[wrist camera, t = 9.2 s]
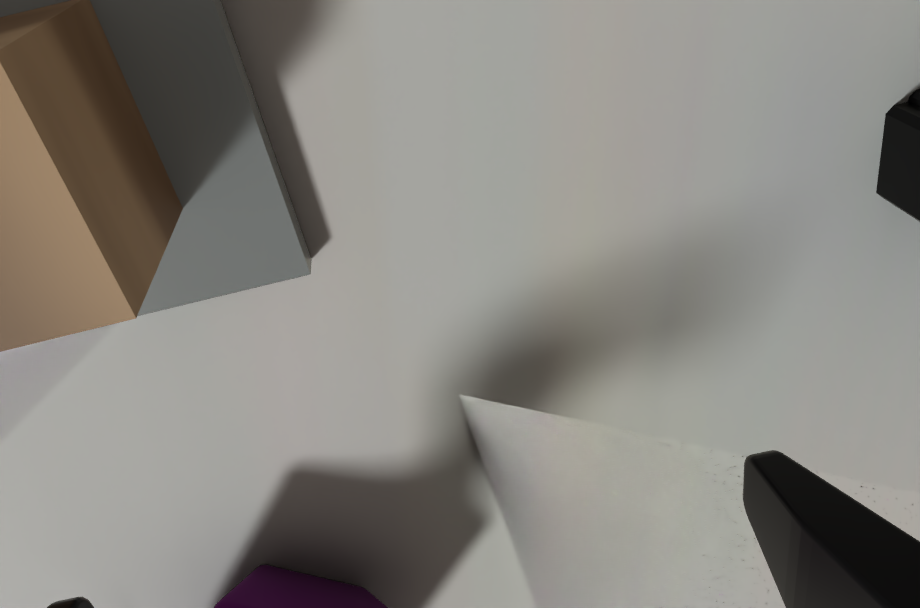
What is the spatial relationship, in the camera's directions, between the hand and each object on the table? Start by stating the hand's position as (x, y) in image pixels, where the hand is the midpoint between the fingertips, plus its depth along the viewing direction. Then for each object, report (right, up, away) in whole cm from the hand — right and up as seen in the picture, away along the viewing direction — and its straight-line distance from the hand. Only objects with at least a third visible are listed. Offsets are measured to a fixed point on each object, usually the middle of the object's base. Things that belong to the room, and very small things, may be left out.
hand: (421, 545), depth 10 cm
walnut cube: (-9, +7, +7) cm, 13 cm away
